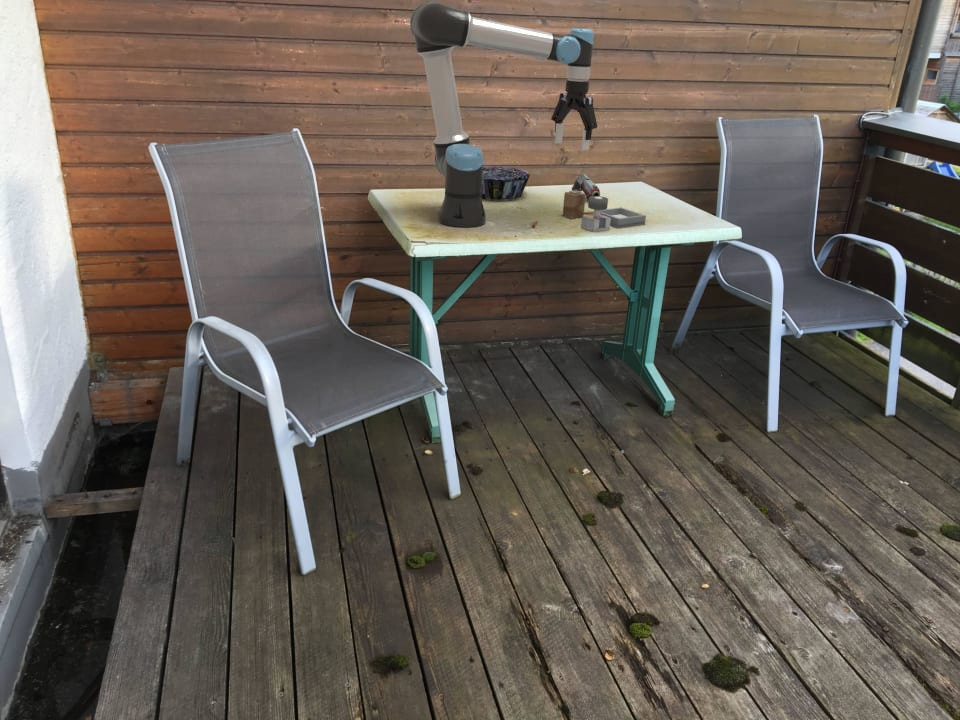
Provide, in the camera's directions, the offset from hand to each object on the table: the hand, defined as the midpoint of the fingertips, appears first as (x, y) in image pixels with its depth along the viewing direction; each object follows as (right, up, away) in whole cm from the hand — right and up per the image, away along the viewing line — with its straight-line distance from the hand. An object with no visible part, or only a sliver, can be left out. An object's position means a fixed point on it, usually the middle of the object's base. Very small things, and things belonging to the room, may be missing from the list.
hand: (571, 146), depth 261 cm
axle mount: (+6, -30, -13) cm, 33 cm away
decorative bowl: (-26, -11, +26) cm, 38 cm away
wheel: (+6, -26, -14) cm, 31 cm away
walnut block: (+1, -24, 0) cm, 24 cm away
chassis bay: (+15, -26, -4) cm, 31 cm away
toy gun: (+8, -12, +27) cm, 31 cm away
